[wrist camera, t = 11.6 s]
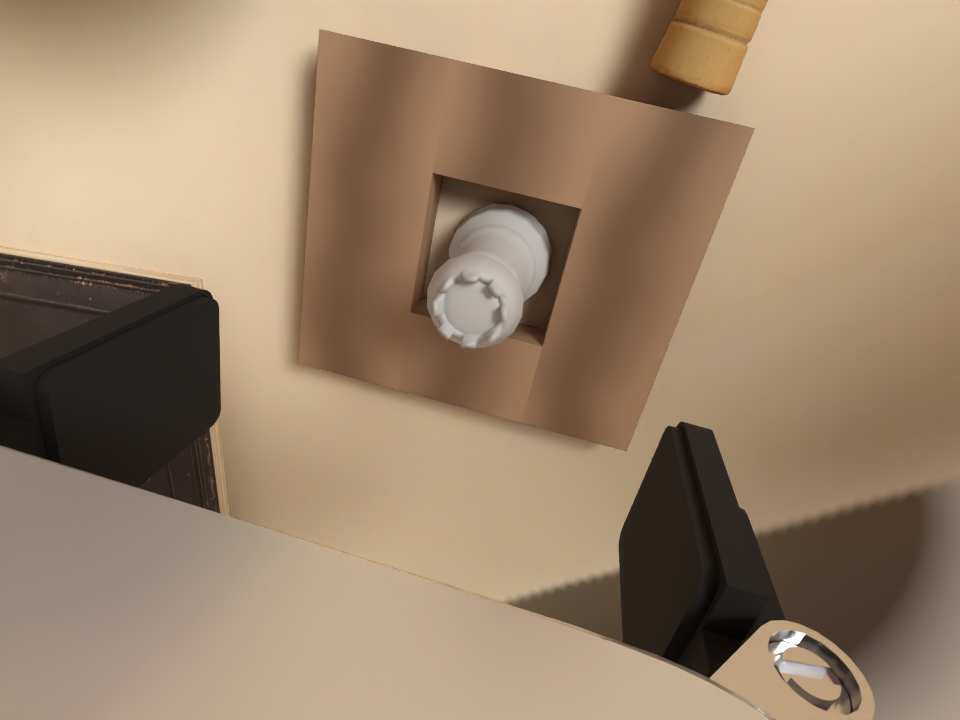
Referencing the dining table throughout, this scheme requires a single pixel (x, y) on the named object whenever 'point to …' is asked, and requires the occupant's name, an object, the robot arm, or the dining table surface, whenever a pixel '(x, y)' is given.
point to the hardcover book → (81, 298)
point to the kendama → (708, 42)
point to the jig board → (520, 169)
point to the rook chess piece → (488, 275)
